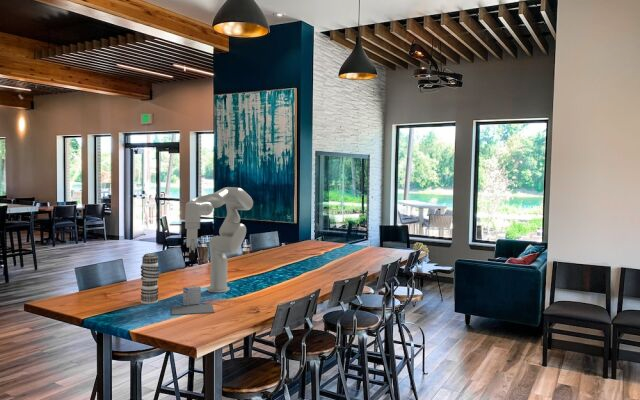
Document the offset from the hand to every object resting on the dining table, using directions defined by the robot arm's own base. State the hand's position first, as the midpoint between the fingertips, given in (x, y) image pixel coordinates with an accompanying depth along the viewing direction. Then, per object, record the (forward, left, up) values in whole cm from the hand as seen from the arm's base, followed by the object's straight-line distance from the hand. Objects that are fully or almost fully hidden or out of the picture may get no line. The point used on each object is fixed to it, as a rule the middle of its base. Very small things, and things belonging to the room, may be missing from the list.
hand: (191, 260), depth 251 cm
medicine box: (+8, 0, -22) cm, 23 cm away
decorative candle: (-2, -21, -22) cm, 30 cm away
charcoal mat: (+17, 0, -22) cm, 28 cm away
